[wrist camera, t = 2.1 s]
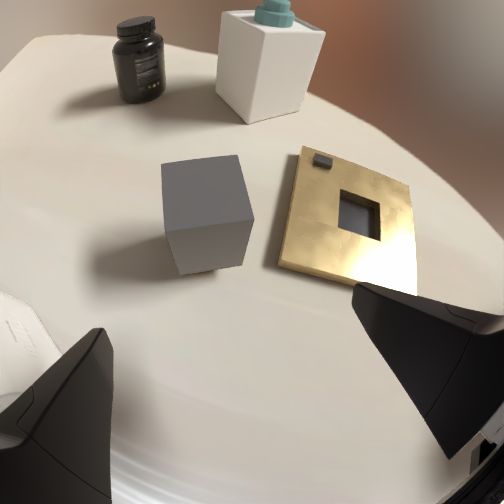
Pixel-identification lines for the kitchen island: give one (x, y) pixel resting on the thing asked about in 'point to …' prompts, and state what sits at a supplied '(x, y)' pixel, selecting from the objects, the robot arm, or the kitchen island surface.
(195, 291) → the kitchen island surface
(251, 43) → the soap bottle
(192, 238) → the plug
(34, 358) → the photo printer
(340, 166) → the socket
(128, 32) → the supplement bottle
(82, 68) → the kitchen island surface
